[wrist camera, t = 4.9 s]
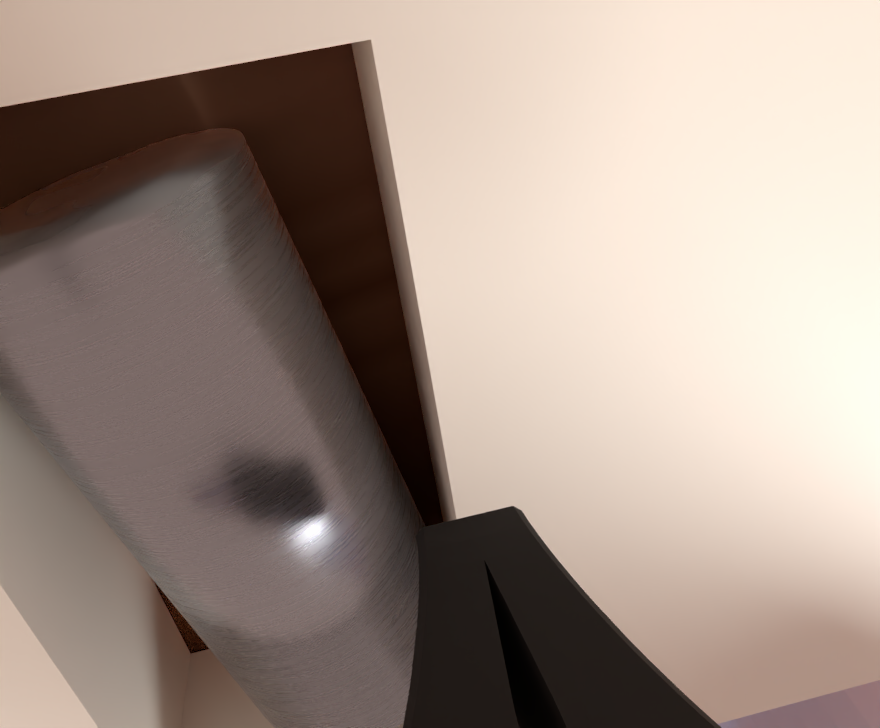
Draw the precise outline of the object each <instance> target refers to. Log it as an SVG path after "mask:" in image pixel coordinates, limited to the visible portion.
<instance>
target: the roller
mask: <svg viewBox="0 0 880 728" xmlns="http://www.w3.org/2000/svg"><path fill="white" fill-rule="evenodd" d="M0 393H1V394H2V396H3V397H4V398H5V399H6V400H7V402H8V403H9V404H10V405H11V407H12V408H13V409H14V410H15V411H16V413H17V414H18V415H19V416H20V418H21V419H22V420H23V421H24V422H25V424H26V425H27V426H28V427H29V429H30V430H31V431H32V432H33V433H34V435H35V436H36V437H37V438H38V440H39V441H40V442H41V443H42V445H43V446H44V447H45V448H46V449H47V451H48V452H49V453H50V454H51V456H52V457H53V458H54V459H55V460H56V462H57V463H58V464H59V465H60V467H61V468H62V469H63V470H64V471H65V473H66V474H67V475H68V476H69V478H70V479H71V480H72V481H73V482H74V484H75V485H76V486H77V487H78V489H79V490H80V491H81V492H82V493H83V495H84V496H85V497H86V498H87V500H88V501H89V502H90V503H91V505H92V506H93V507H94V508H95V509H96V511H97V512H98V513H99V514H100V516H101V517H102V518H103V519H104V520H105V522H106V523H107V524H108V525H109V527H110V528H111V529H112V530H113V531H114V533H115V534H116V535H117V536H118V538H119V539H120V540H121V541H122V542H123V544H124V545H125V546H126V547H127V549H128V550H129V551H130V552H131V554H132V555H133V556H134V557H135V558H136V560H137V561H138V562H139V563H140V565H141V566H142V567H143V568H144V569H145V571H146V572H147V573H148V574H149V576H150V577H151V578H152V579H153V580H154V582H155V583H156V584H157V585H158V587H159V588H160V589H161V590H162V591H163V593H164V594H165V595H166V596H167V598H168V599H169V600H170V601H171V602H172V604H173V605H174V606H175V607H176V609H177V610H178V611H179V612H180V614H181V615H182V616H183V617H184V618H185V620H186V621H187V622H188V623H189V625H190V626H191V627H192V628H193V629H194V631H195V632H196V633H197V634H198V636H199V637H200V638H201V639H202V640H203V642H204V643H205V644H206V645H207V647H208V648H209V649H210V650H211V651H212V653H213V654H214V655H215V656H216V658H217V659H218V660H219V661H220V663H221V664H222V665H223V666H224V667H225V669H226V670H227V671H228V672H229V674H230V675H231V676H232V677H233V678H234V680H235V681H236V682H237V683H238V685H239V686H240V687H241V688H242V689H243V691H244V692H245V693H246V694H247V696H248V697H249V698H250V699H251V700H252V702H253V703H254V704H255V705H256V707H257V708H258V709H259V710H260V711H261V713H262V714H263V715H264V716H265V718H266V719H267V720H268V721H269V723H270V724H271V725H272V726H273V727H274V728H396V727H398V726H399V725H401V724H402V723H404V718H405V712H406V706H407V700H408V695H409V688H410V681H411V674H412V665H413V656H414V646H415V637H416V628H417V617H418V598H419V559H418V547H417V541H416V535H417V534H418V532H419V531H420V530H421V529H422V528H423V527H426V526H425V524H424V522H423V520H422V517H421V515H420V513H419V511H418V509H417V507H416V505H415V502H414V500H413V498H412V496H411V494H410V492H409V490H408V487H407V485H406V483H405V481H404V479H403V477H402V475H401V472H400V470H399V468H398V466H397V464H396V462H395V460H394V457H393V455H392V453H391V451H390V449H389V447H388V445H387V442H386V440H385V438H384V436H383V434H382V432H381V430H380V427H379V425H378V423H377V421H376V419H375V417H374V414H373V412H372V410H371V408H370V406H369V404H368V402H367V399H366V397H365V395H364V393H363V391H362V389H361V387H360V384H359V382H358V380H357V378H356V376H355V374H354V372H353V369H352V367H351V365H350V363H349V361H348V359H347V357H346V354H345V352H344V350H343V348H342V346H341V344H340V342H339V339H338V337H337V335H336V333H335V331H334V329H333V327H332V324H331V322H330V320H329V318H328V316H327V314H326V312H325V309H324V307H323V305H322V303H321V301H320V299H319V296H318V294H317V292H316V290H315V288H314V286H313V284H312V281H311V279H310V277H309V275H308V273H307V271H306V269H305V266H304V264H303V262H302V260H301V258H300V256H299V254H298V251H297V249H296V247H295V245H294V243H293V241H292V239H291V236H290V234H289V232H288V230H287V228H286V226H285V224H284V221H283V219H282V217H281V215H280V213H279V211H278V209H277V206H276V204H275V202H274V200H273V198H272V196H271V193H270V191H269V189H268V187H267V185H266V183H265V181H264V178H263V176H262V174H261V172H260V170H259V168H258V166H257V163H256V161H255V159H254V157H253V155H252V153H251V151H250V148H249V146H248V144H247V142H246V140H245V138H244V136H243V134H242V132H240V131H238V130H236V129H231V128H217V129H208V130H202V131H196V132H192V133H187V134H183V135H179V136H175V137H172V138H168V139H165V140H161V141H159V142H156V143H153V144H151V145H148V146H146V147H143V148H140V149H138V150H135V151H132V152H130V153H127V154H124V155H122V156H119V157H117V158H114V159H111V160H109V161H106V162H103V163H101V164H98V165H96V166H93V167H90V168H88V169H85V170H82V171H80V172H77V173H74V174H72V175H70V176H67V177H65V178H63V179H61V180H59V181H57V182H54V183H52V184H50V185H48V186H46V187H44V188H42V189H40V190H38V191H36V192H34V193H32V194H30V195H28V196H26V197H24V198H22V199H20V200H18V201H16V202H15V203H13V204H11V205H9V206H7V207H5V208H4V209H2V210H0Z"/></svg>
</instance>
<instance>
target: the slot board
mask: <svg viewBox="0 0 880 728" xmlns="http://www.w3.org/2000/svg"><path fill="white" fill-rule="evenodd" d="M349 43H351V45H352V50H353V55H354V60H355V66H356V71H357V76H358V81H359V86H360V92H361V97H362V102H363V107H364V112H365V118H366V123H367V128H368V133H369V138H370V143H371V149H372V154H373V159H374V164H375V169H376V175H377V180H378V185H379V190H380V195H381V201H382V206H383V211H384V216H385V221H386V227H387V232H388V237H389V242H390V247H391V253H392V258H393V263H394V268H395V273H396V279H397V284H398V289H399V294H400V299H401V305H402V310H403V315H404V320H405V325H406V331H407V336H408V341H409V346H410V351H411V357H412V362H413V367H414V372H415V377H416V383H417V388H418V393H419V398H420V403H421V409H422V414H423V419H424V424H425V429H426V435H427V440H428V445H429V450H430V455H431V461H432V466H433V471H434V476H435V481H436V487H437V492H438V497H439V502H440V507H441V513H442V518H443V522H447V521H451V520H456V519H460V518H464V517H468V516H472V515H476V514H481V513H485V512H489V511H493V510H497V509H502V508H506V507H510V506H514V507H516V508H518V509H520V510H522V512H523V513H524V515H525V516H526V518H527V519H528V521H529V522H530V524H531V525H532V526H533V528H534V529H535V531H536V532H537V533H538V535H539V536H540V538H541V539H542V540H543V541H544V543H545V544H546V545H547V547H548V548H549V549H550V551H551V552H552V553H553V554H554V556H555V557H556V558H557V559H558V561H559V562H560V563H561V564H562V565H563V567H564V568H565V569H566V570H567V571H568V573H569V574H570V575H571V576H572V577H573V579H574V580H575V581H576V582H577V583H578V584H579V586H580V587H581V588H582V589H583V590H584V591H585V592H586V594H587V595H588V596H589V597H590V598H591V599H592V600H593V601H594V602H595V604H596V605H597V606H598V607H599V608H600V609H601V610H602V611H603V612H604V613H605V614H606V615H607V616H608V618H609V619H610V620H611V621H612V622H613V623H614V624H615V625H616V626H617V627H618V628H619V629H620V630H621V632H622V633H623V634H624V635H625V636H626V637H627V638H628V639H629V640H630V641H631V642H632V643H633V644H634V645H635V646H636V647H637V648H638V649H639V650H640V651H641V652H642V653H643V654H644V655H645V656H646V657H647V658H648V659H649V660H650V661H651V662H652V663H653V664H654V665H655V666H656V667H657V668H658V669H659V670H660V671H661V672H662V673H663V674H664V675H665V676H666V677H667V678H668V679H669V680H670V681H672V682H673V683H674V684H675V685H676V686H677V687H678V688H679V689H680V690H681V691H682V692H683V693H684V694H685V695H686V696H687V697H688V698H689V699H691V700H692V701H693V702H694V703H695V704H696V705H697V706H698V707H699V708H700V709H701V710H702V711H704V712H705V713H706V714H707V715H708V716H709V717H710V718H711V719H712V720H714V721H715V722H716V723H717V724H719V723H723V722H727V721H730V720H734V719H738V718H741V717H745V716H749V715H752V714H756V713H760V712H763V711H767V710H771V709H775V708H778V707H782V706H786V705H789V704H793V703H797V702H800V701H804V700H808V699H811V698H815V697H819V696H822V695H826V694H830V693H834V692H837V691H841V690H845V689H848V688H852V687H856V686H859V685H863V684H867V683H870V682H874V681H878V680H880V0H0V107H4V106H9V105H15V104H20V103H26V102H31V101H37V100H42V99H48V98H53V97H59V96H64V95H70V94H75V93H81V92H86V91H91V90H97V89H102V88H108V87H113V86H119V85H124V84H130V83H135V82H141V81H146V80H152V79H157V78H163V77H168V76H174V75H179V74H185V73H190V72H196V71H201V70H206V69H212V68H217V67H223V66H228V65H234V64H239V63H245V62H250V61H256V60H261V59H267V58H272V57H278V56H283V55H289V54H294V53H300V52H305V51H310V50H316V49H321V48H327V47H332V46H338V45H343V44H349ZM0 728H274V727H273V726H272V725H271V724H270V723H269V721H268V720H267V719H266V718H265V716H264V715H263V714H262V713H261V711H260V710H259V709H258V708H257V707H256V705H255V704H254V703H253V702H252V700H251V699H250V698H249V697H248V696H247V694H246V693H245V692H244V691H243V689H242V688H241V687H240V686H239V685H238V683H237V682H236V681H235V680H234V678H233V677H232V676H231V675H230V674H229V672H228V671H227V670H226V669H225V667H224V666H223V665H222V664H221V663H220V661H219V660H218V659H217V658H216V656H215V655H214V654H213V653H212V651H211V650H210V649H207V650H203V651H199V652H195V653H190V651H189V649H188V647H187V645H186V644H185V642H184V640H183V638H182V636H181V634H180V632H179V630H178V628H177V626H176V624H175V622H174V620H173V618H172V616H171V615H170V613H169V611H168V609H167V607H166V605H165V603H164V601H163V599H162V597H161V595H160V593H159V591H158V589H157V588H156V586H155V584H154V582H153V580H152V578H151V577H150V576H149V574H148V573H147V572H146V571H145V569H144V568H143V567H142V566H141V565H140V563H139V562H138V561H137V560H136V558H135V557H134V556H133V555H132V554H131V552H130V551H129V550H128V549H127V547H126V546H125V545H124V544H123V542H122V541H121V540H120V539H119V538H118V536H117V535H116V534H115V533H114V531H113V530H112V529H111V528H110V527H109V525H108V524H107V523H106V522H105V520H104V519H103V518H102V517H101V516H100V514H99V513H98V512H97V511H96V509H95V508H94V507H93V506H92V505H91V503H90V502H89V501H88V500H87V498H86V497H85V496H84V495H83V493H82V492H81V491H80V490H79V489H78V487H77V486H76V485H75V484H74V482H73V481H72V480H71V479H70V478H69V476H68V475H67V474H66V473H65V471H64V470H63V469H62V468H61V467H60V465H59V464H58V463H57V462H56V460H55V459H54V458H53V457H52V456H51V454H50V453H49V452H48V451H47V449H46V448H45V447H44V446H43V445H42V443H41V442H40V441H39V440H38V438H37V437H36V436H35V435H34V433H33V432H32V431H31V430H30V429H29V427H28V426H27V425H26V424H25V422H24V421H23V420H22V419H21V418H20V416H19V415H18V414H17V413H16V411H15V410H14V409H13V408H12V407H11V405H10V404H9V403H8V402H7V400H6V399H5V398H4V397H3V396H2V394H1V393H0ZM396 728H403V723H402V724H401V725H399V726H398V727H396Z"/></svg>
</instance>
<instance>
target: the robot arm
mask: <svg viewBox="0 0 880 728" xmlns="http://www.w3.org/2000/svg"><path fill="white" fill-rule="evenodd" d="M416 541H417V547H418V559H419V598H418V617H417V628H416V637H415V646H414V656H413V665H412V674H411V681H410V688H409V695H408V700H407V706H406V712H405V718H404V723H403V728H880V680H878V681H874V682H870V683H867V684H863V685H859V686H856V687H852V688H848V689H845V690H841V691H837V692H834V693H830V694H826V695H822V696H819V697H815V698H811V699H808V700H804V701H800V702H797V703H793V704H789V705H786V706H782V707H778V708H775V709H771V710H767V711H763V712H760V713H756V714H752V715H749V716H745V717H741V718H738V719H734V720H730V721H727V722H723V723H719V724H717V723H716V722H715V721H714V720H712V719H711V718H710V717H709V716H708V715H707V714H706V713H705V712H704V711H702V710H701V709H700V708H699V707H698V706H697V705H696V704H695V703H694V702H693V701H692V700H691V699H689V698H688V697H687V696H686V695H685V694H684V693H683V692H682V691H681V690H680V689H679V688H678V687H677V686H676V685H675V684H674V683H673V682H672V681H670V680H669V679H668V678H667V677H666V676H665V675H664V674H663V673H662V672H661V671H660V670H659V669H658V668H657V667H656V666H655V665H654V664H653V663H652V662H651V661H650V660H649V659H648V658H647V657H646V656H645V655H644V654H643V653H642V652H641V651H640V650H639V649H638V648H637V647H636V646H635V645H634V644H633V643H632V642H631V641H630V640H629V639H628V638H627V637H626V636H625V635H624V634H623V633H622V632H621V630H620V629H619V628H618V627H617V626H616V625H615V624H614V623H613V622H612V621H611V620H610V619H609V618H608V616H607V615H606V614H605V613H604V612H603V611H602V610H601V609H600V608H599V607H598V606H597V605H596V604H595V602H594V601H593V600H592V599H591V598H590V597H589V596H588V595H587V594H586V592H585V591H584V590H583V589H582V588H581V587H580V586H579V584H578V583H577V582H576V581H575V580H574V579H573V577H572V576H571V575H570V574H569V573H568V571H567V570H566V569H565V568H564V567H563V565H562V564H561V563H560V562H559V561H558V559H557V558H556V557H555V556H554V554H553V553H552V552H551V551H550V549H549V548H548V547H547V545H546V544H545V543H544V541H543V540H542V539H541V538H540V536H539V535H538V533H537V532H536V531H535V529H534V528H533V526H532V525H531V524H530V522H529V521H528V519H527V518H526V516H525V515H524V513H523V512H522V510H520V509H518V508H516V507H514V506H510V507H506V508H502V509H497V510H493V511H489V512H485V513H481V514H476V515H472V516H468V517H464V518H460V519H456V520H451V521H447V522H443V523H439V524H435V525H430V526H426V527H423V528H422V529H421V530H420V531H419V532H418V534H417V535H416Z"/></svg>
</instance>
